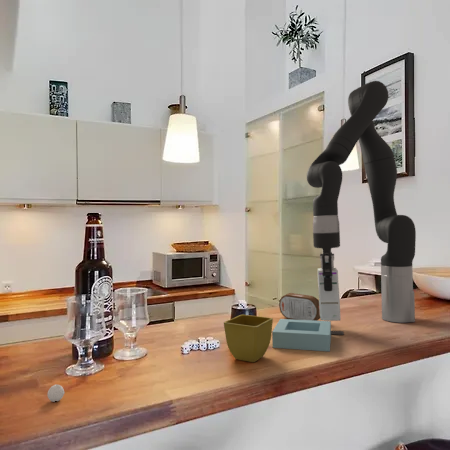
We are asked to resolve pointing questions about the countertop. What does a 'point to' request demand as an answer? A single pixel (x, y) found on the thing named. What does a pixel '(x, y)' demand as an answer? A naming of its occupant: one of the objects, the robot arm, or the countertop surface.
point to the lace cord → (337, 332)
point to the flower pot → (248, 336)
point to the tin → (299, 307)
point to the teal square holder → (302, 335)
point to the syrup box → (329, 297)
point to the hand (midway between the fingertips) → (328, 288)
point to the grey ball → (55, 393)
